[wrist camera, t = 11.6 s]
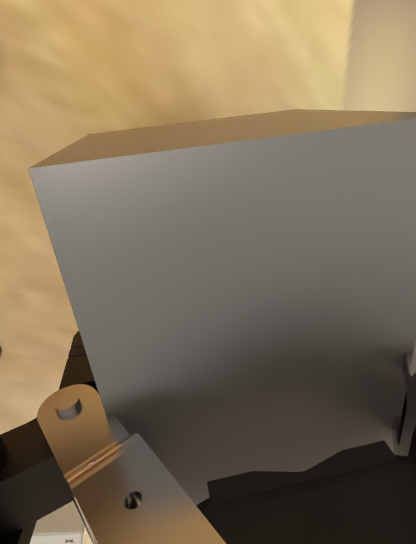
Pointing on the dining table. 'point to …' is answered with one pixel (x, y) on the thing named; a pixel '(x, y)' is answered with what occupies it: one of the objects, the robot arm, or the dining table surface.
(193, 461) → the gray rectangular prism
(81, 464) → the robot arm
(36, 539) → the product box
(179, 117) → the dining table surface
